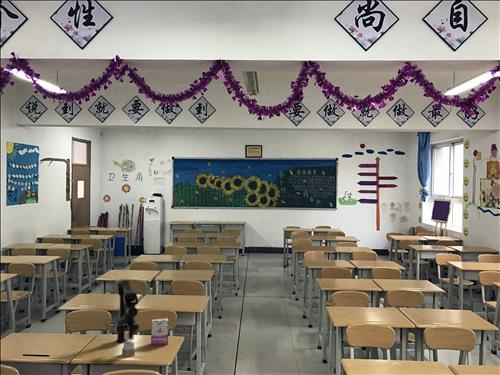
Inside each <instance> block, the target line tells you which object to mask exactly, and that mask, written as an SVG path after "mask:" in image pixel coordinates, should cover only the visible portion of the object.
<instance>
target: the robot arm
mask: <svg viewBox="0 0 500 375" xmlns="http://www.w3.org/2000/svg"><path fill="white" fill-rule="evenodd" d="M116 292H117V294H118V296H119V305H118V306H119V307H118V308H119V313H118V314H119V315H118V318H117V319H115V327H114V333H115V334H116V338H117V339H115V342H116V343H117V344H122V343H124V342H126V340H125V339H124V332H125V331H129V338H130V339H131V338H132V336H133V334H134V335H135V333H136V331H137V330H139V329H140V325H139V324H138V323H137V322H136V320H135V317H136V316H137V315H138V308H137V307H136V305H138V303H139V298H138V294H137V293H136V292H135V290H132V287H131V282H130V280H128V279H127V280H121V281H120V282H118V283H117V284H116Z"/></svg>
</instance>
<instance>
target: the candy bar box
mask: <svg viewBox="0 0 500 375" xmlns="http://www.w3.org/2000/svg"><path fill="white" fill-rule="evenodd" d="M150 329H151V334H150V335H151V336H150V338H151V340H150V341H151V342H150V346H165V345H166V346H167V345H169V318H155V319H154V318H152V319H151V327H150Z"/></svg>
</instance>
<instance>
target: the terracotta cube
mask: <svg viewBox="0 0 500 375" xmlns="http://www.w3.org/2000/svg"><path fill="white" fill-rule="evenodd" d="M134 337H135V333H134V334H133V336H132V338H131V339H130V338H129V331H125V332H124V339H125V340H126V341H133V340H134V339H135V338H134Z"/></svg>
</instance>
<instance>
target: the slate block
mask: <svg viewBox="0 0 500 375" xmlns="http://www.w3.org/2000/svg"><path fill="white" fill-rule="evenodd" d="M122 345H123V347H122V348H124V349H125V350H126V351H127V350H133V349H135V343H134V341H133V340H128V341H126V342H123V344H122Z"/></svg>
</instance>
